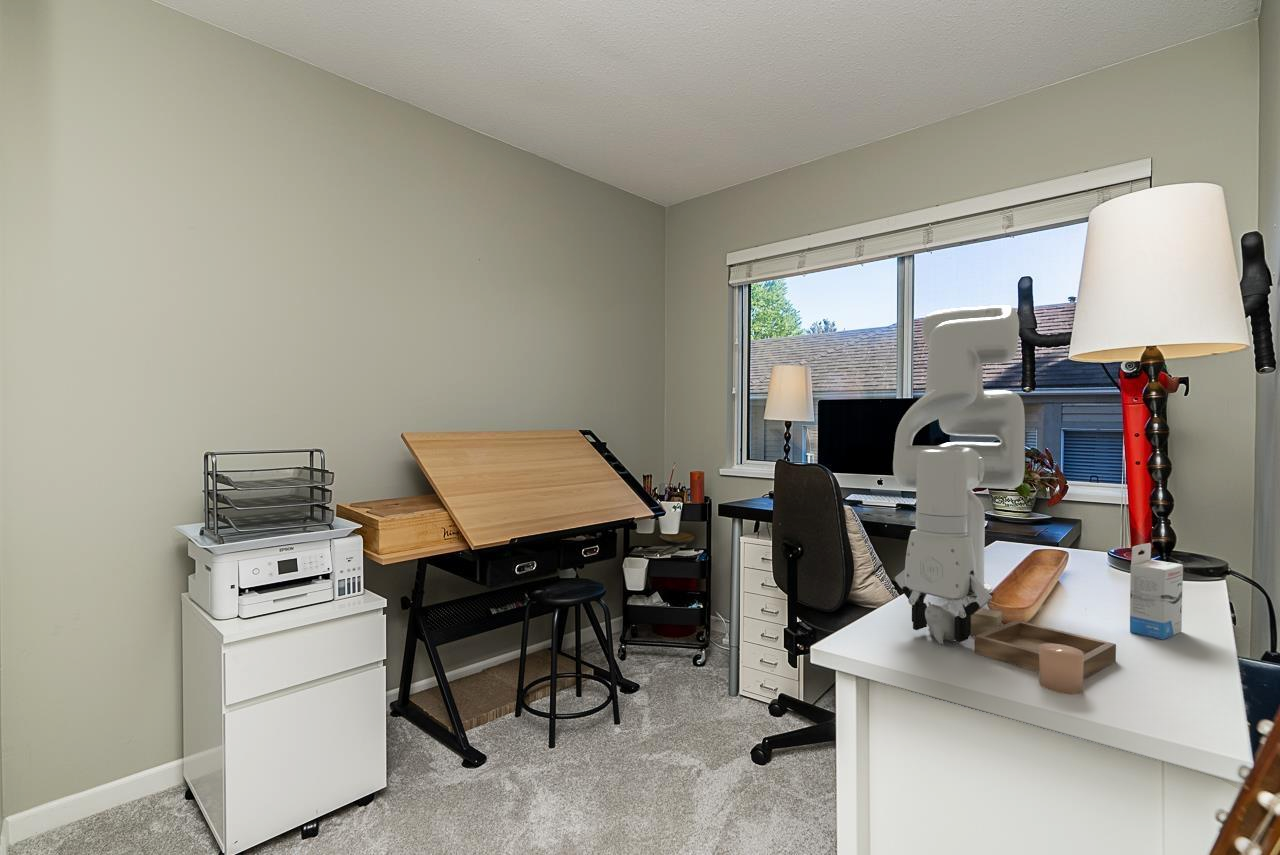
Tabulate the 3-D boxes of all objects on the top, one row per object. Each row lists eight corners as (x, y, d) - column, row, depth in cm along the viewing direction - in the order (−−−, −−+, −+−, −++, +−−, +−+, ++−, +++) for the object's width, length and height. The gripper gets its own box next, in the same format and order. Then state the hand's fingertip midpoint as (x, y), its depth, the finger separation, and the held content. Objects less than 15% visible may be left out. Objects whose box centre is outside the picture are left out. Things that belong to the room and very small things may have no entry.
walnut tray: (974, 652, 98) (974, 636, 98) (1016, 635, 106) (1016, 620, 106) (1078, 683, 86) (1078, 664, 86) (1115, 661, 95) (1115, 643, 95)
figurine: (963, 655, 100) (938, 627, 98) (927, 654, 105) (903, 627, 102) (969, 611, 105) (945, 583, 102) (934, 613, 109) (911, 586, 107)
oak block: (970, 636, 106) (970, 612, 106) (975, 630, 109) (975, 607, 109) (997, 641, 103) (997, 617, 103) (1001, 635, 106) (1001, 611, 106)
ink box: (1164, 640, 104) (1165, 551, 104) (1128, 632, 108) (1129, 546, 108) (1183, 631, 109) (1184, 546, 109) (1148, 624, 113) (1148, 541, 113)
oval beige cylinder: (1032, 684, 86) (1032, 648, 86) (1048, 676, 89) (1048, 640, 89) (1074, 697, 82) (1074, 659, 82) (1089, 688, 85) (1089, 651, 85)
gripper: (880, 519, 108) (879, 624, 108) (984, 534, 94) (983, 654, 94) (905, 516, 112) (904, 616, 112) (1008, 529, 98) (1006, 644, 98)
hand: (940, 633), depth 103 cm, fingers open, 6 cm apart
